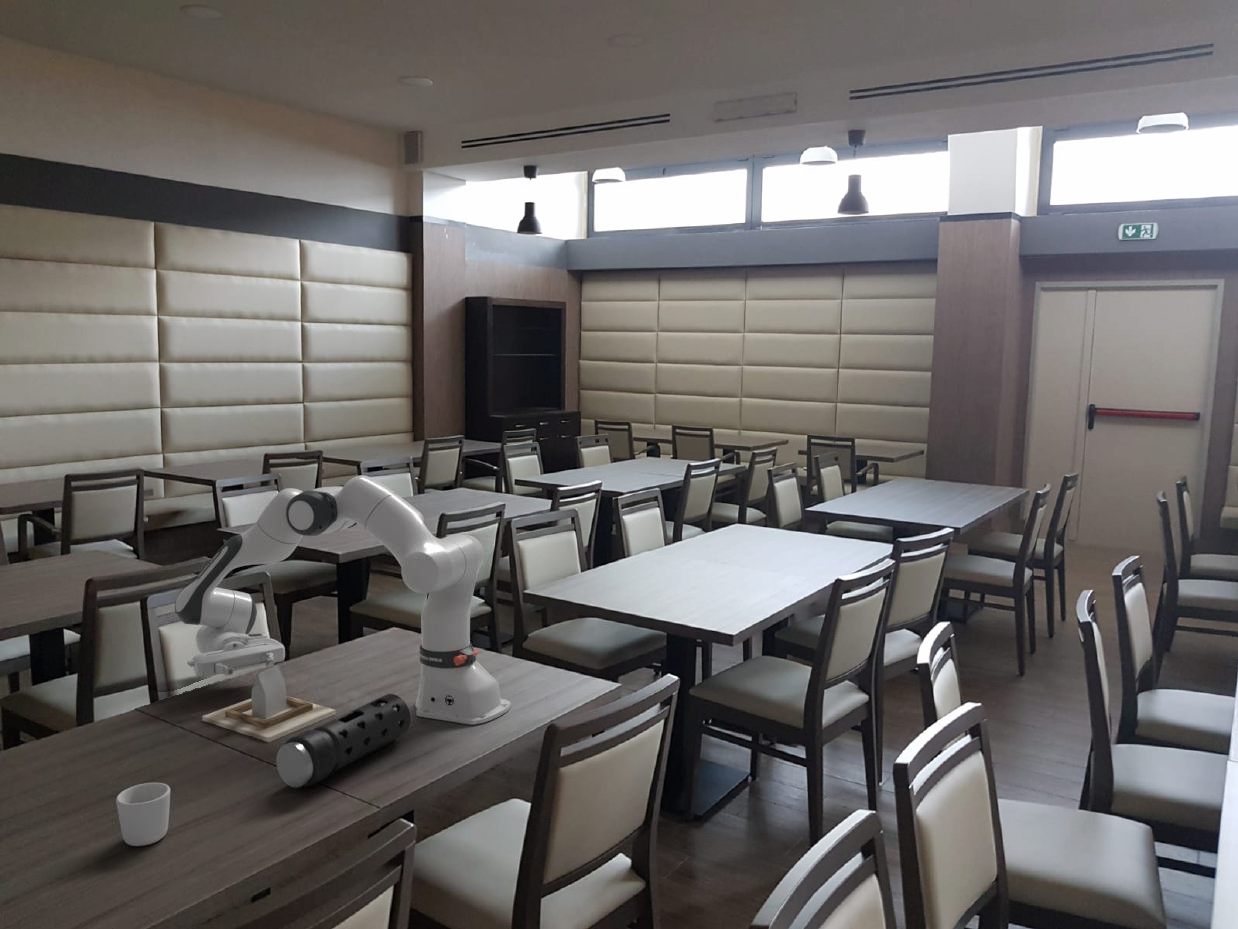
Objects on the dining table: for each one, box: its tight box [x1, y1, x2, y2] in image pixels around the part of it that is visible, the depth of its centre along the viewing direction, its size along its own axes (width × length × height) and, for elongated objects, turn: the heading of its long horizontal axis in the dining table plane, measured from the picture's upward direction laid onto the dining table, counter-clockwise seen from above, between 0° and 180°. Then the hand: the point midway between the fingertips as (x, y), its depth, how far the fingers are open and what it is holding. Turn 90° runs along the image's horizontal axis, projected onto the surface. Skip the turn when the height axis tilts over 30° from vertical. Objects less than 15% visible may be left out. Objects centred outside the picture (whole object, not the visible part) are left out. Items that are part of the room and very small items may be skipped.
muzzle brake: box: [275, 693, 411, 789], centre depth 179 cm, size 10×28×10 cm, turn 153°
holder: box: [202, 695, 337, 743], centre depth 203 cm, size 22×18×2 cm
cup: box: [115, 782, 171, 847], centre depth 152 cm, size 11×8×8 cm
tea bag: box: [251, 664, 287, 719], centre depth 202 cm, size 4×7×10 cm, turn 162°
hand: (250, 667), depth 210 cm, fingers open, 8 cm apart
